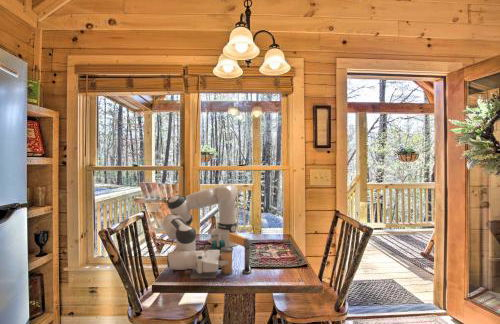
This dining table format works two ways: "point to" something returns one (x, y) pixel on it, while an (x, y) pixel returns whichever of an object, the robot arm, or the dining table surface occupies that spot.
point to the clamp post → (247, 262)
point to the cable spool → (227, 256)
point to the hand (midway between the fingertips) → (228, 259)
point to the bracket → (221, 244)
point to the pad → (202, 274)
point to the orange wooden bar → (239, 240)
